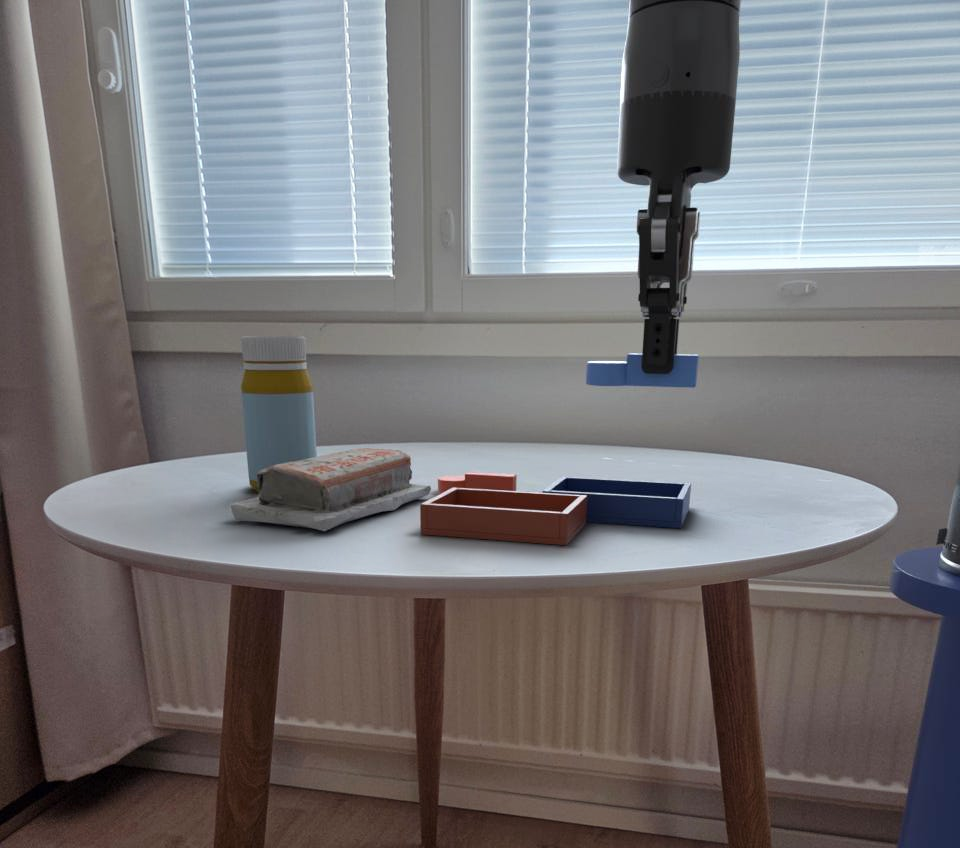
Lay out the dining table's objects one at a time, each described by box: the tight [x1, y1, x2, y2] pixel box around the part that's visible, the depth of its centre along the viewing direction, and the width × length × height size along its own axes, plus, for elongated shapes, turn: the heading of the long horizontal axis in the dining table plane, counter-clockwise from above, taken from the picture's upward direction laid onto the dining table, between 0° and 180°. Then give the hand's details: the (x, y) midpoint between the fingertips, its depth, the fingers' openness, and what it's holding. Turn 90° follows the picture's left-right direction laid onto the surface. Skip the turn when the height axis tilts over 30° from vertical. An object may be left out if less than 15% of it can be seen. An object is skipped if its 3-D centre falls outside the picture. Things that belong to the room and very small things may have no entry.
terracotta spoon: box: [437, 471, 517, 495], centre depth 87 cm, size 8×3×2 cm, turn 73°
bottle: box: [240, 335, 318, 493], centre depth 88 cm, size 7×7×15 cm
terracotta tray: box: [419, 488, 587, 546], centre depth 73 cm, size 12×8×2 cm
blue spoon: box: [585, 353, 700, 389], centre depth 64 cm, size 8×3×2 cm, turn 73°
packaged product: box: [230, 447, 432, 532], centre depth 80 cm, size 18×5×10 cm
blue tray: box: [541, 476, 692, 529], centre depth 79 cm, size 12×8×2 cm
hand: (658, 372), depth 64 cm, fingers closed on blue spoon, 1 cm apart
